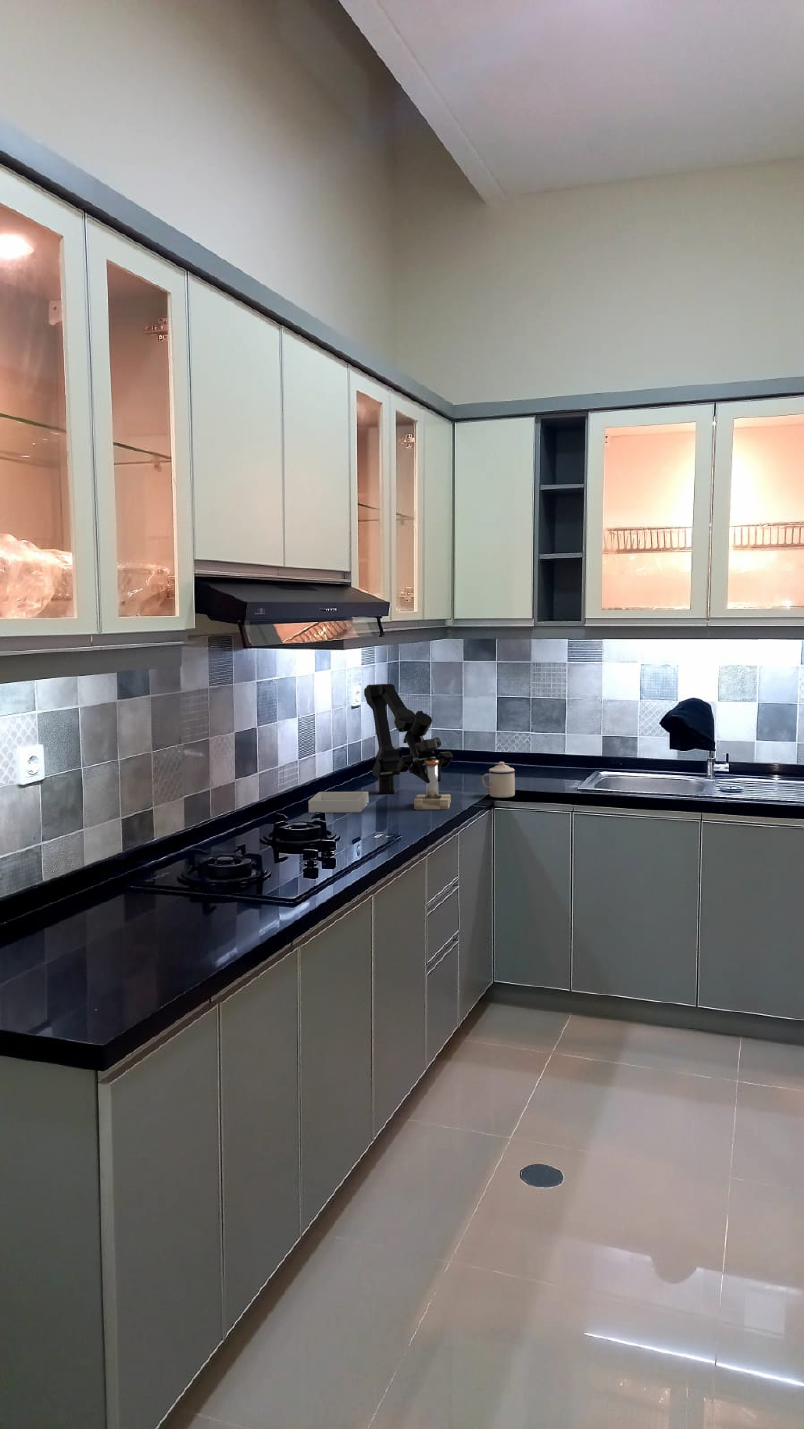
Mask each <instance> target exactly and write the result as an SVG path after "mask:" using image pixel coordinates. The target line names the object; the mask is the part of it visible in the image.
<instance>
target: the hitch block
mask: <svg viewBox="0 0 804 1429" xmlns="http://www.w3.org/2000/svg"><path fill="white" fill-rule="evenodd" d="M438 794H439V793H438ZM413 801H414V802H413V804H414V806H413V807H414V808H413V809H416V811H417V810H449V808H450V807H451V806H450V805H451V804H450V803H451V794H449V793H444V794H439V799H426V794H417V795H416V796H415V798H414V800H413Z"/></svg>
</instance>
